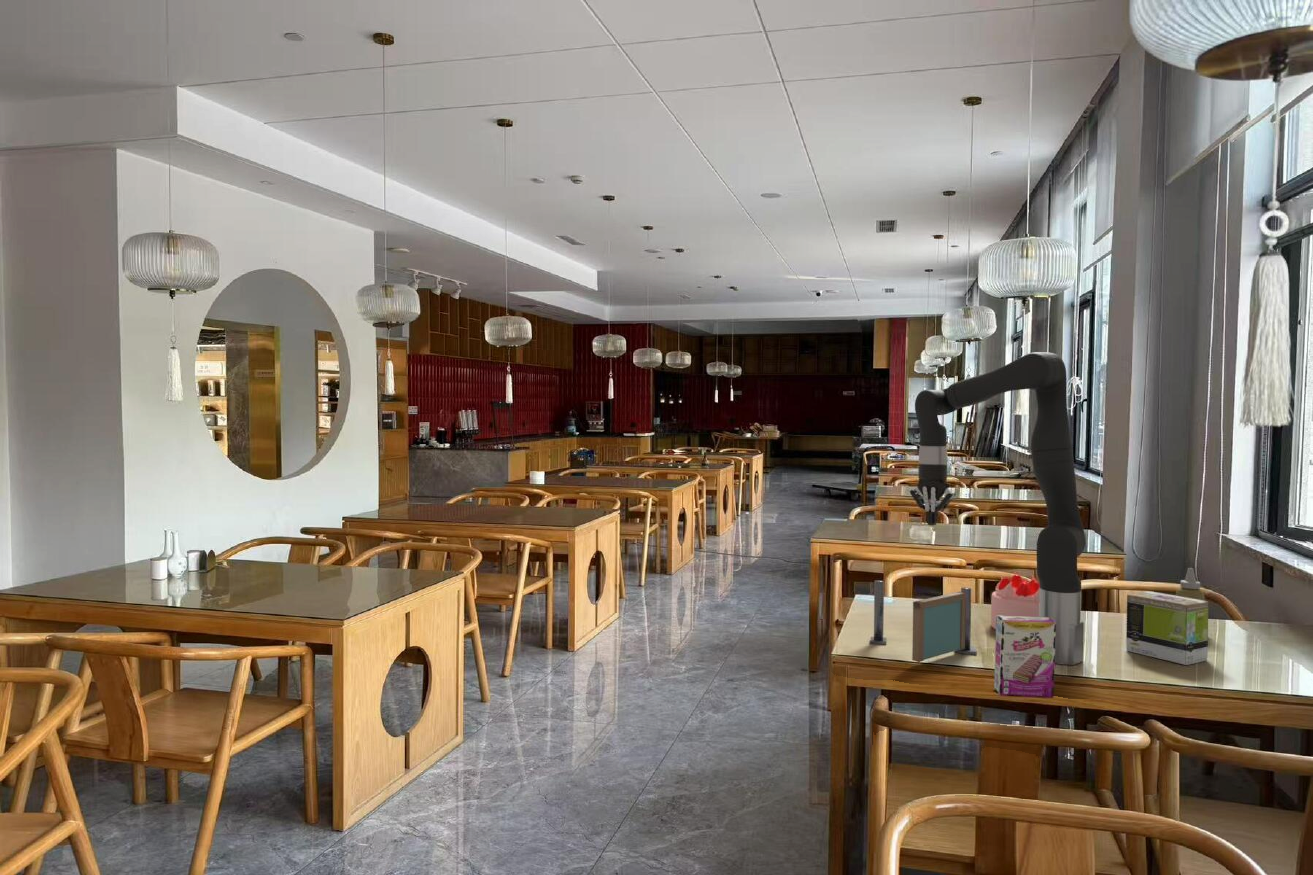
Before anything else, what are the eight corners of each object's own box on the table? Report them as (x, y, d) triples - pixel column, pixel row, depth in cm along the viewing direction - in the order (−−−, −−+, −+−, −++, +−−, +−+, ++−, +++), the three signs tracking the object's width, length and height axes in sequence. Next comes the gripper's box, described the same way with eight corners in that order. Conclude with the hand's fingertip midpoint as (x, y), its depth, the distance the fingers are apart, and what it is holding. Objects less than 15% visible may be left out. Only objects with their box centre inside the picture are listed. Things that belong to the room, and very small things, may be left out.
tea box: (1208, 660, 209) (1210, 600, 209) (1185, 666, 204) (1187, 604, 204) (1147, 645, 222) (1148, 589, 222) (1124, 651, 217) (1125, 593, 217)
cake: (987, 619, 250) (988, 570, 250) (1062, 623, 245) (1063, 574, 245) (994, 635, 232) (995, 583, 231) (1076, 641, 226) (1077, 587, 226)
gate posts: (974, 647, 220) (975, 585, 219) (976, 654, 213) (977, 590, 213) (870, 639, 227) (871, 579, 226) (869, 646, 220) (870, 584, 220)
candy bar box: (1000, 697, 182) (1001, 620, 181) (993, 689, 187) (994, 614, 186) (1055, 699, 181) (1056, 621, 180) (1047, 691, 186) (1048, 616, 185)
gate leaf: (958, 646, 216) (959, 591, 215) (964, 648, 214) (965, 592, 214) (912, 660, 204) (913, 601, 204) (918, 661, 203) (919, 603, 202)
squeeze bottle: (1175, 636, 232) (1177, 569, 231) (1168, 629, 239) (1170, 564, 239) (1210, 639, 229) (1212, 571, 228) (1202, 631, 237) (1203, 566, 236)
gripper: (904, 461, 239) (903, 523, 239) (948, 464, 229) (947, 528, 230) (917, 460, 244) (916, 521, 245) (962, 462, 234) (961, 526, 235)
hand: (931, 524), depth 237 cm, fingers closed
